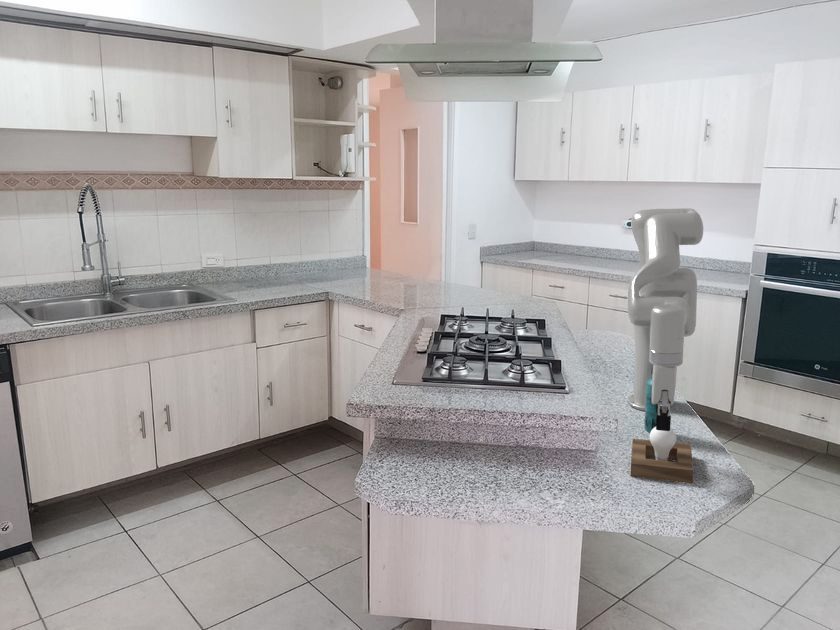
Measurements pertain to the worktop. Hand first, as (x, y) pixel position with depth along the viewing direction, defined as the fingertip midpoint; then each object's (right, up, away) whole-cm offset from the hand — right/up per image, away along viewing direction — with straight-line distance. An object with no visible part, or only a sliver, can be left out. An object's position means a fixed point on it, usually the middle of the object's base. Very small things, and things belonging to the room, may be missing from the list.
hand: (662, 421), depth 156 cm
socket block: (0, -12, +3) cm, 12 cm away
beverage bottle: (+6, -7, +19) cm, 21 cm away
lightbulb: (0, -12, +2) cm, 12 cm away
